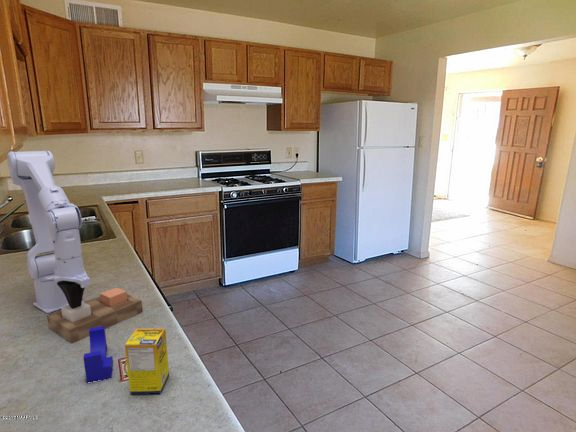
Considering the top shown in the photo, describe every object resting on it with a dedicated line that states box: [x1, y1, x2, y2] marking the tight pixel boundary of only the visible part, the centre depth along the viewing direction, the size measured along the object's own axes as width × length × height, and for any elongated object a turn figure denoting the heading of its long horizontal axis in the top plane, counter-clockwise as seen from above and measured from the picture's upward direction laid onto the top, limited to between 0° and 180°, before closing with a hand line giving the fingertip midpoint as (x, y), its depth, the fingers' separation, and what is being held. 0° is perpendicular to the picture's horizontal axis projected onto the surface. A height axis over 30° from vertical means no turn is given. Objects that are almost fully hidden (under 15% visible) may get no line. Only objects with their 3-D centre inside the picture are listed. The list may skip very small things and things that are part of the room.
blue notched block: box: [83, 326, 114, 384], centre depth 80 cm, size 12×4×6 cm, turn 22°
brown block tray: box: [46, 293, 143, 344], centre depth 99 cm, size 12×19×4 cm, turn 145°
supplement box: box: [124, 327, 170, 395], centre depth 73 cm, size 6×6×11 cm
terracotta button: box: [99, 287, 128, 307], centre depth 102 cm, size 5×5×4 cm
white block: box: [60, 301, 91, 323], centre depth 95 cm, size 5×5×4 cm
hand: (75, 306), depth 94 cm, fingers closed, pressing on white block
